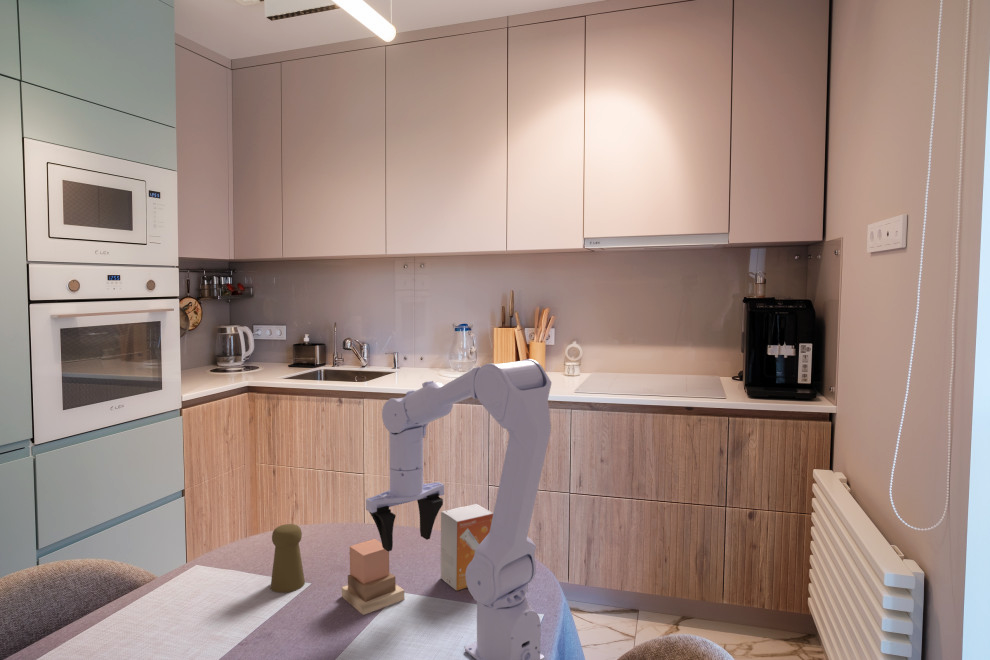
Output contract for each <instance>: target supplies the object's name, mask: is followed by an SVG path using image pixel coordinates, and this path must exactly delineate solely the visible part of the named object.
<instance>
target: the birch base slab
mask: <svg viewBox="0 0 990 660" xmlns="http://www.w3.org/2000/svg"><path fill="white" fill-rule="evenodd" d="M341 597H342V598H343V599H344V600H345V601H346V602H348V603H349V604H350V605H351V606H352V607H353V608H354V609H355V610H357V611H358V612H359V613H360V614H362V615H363V616H364V615H367V614H369V613H372V612H374V611H378V610H380V609H383V608H386V607H388V606H391V605H394V604H396V603H400V602H402V601H404V600H405V589H404V588H402V587H401V586H399V585H398V584H396V590H395V591H392V592H390V593H387V594H385V595H382V596H380V597H377V598H374V599H372V600H369V601H367V602H365V601H363V600H362V599H361V598H359V597H358V596H357V595H355V594H354V593H353V592H351V591H350V590H349V589H348V584H347V585H344V586H341Z"/></svg>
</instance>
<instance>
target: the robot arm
mask: <svg viewBox="0 0 990 660" xmlns="http://www.w3.org/2000/svg"><path fill="white" fill-rule="evenodd" d="M551 386H552V381H551V379H550V377H549V376H548V374H547V372H546V370H545V369H544V367H543V365H541V363H540V362H538V360H535V359H532V358H526V359H522V360H517V361H516V360H515V361H511V362H510V361H508V362H500V363H490V362H489V363H485V364H483V365H482V366H477V367H474V368H472V369H471V370H469V371H467V372H466V373H464V374H461V375H459V376H458V377H456V378H455V379H454V380H453V379H452V380H450V381H449V382H447V383H445V384H443V383H441V382H437V381H434V380H428V381H425V382H423V383H422V387H421V388H419V389H417V390H414V389H413V390H408V391H407V392H405V396H404V397H397V398H396V397H395V398H394V397H392V398H388V400H387V401H385V403H384V404H383V406H382V411H381V418H382V423H383V425H384V427H385V429H386V430H387V431H388V432H389V433H388V435H389V436H388V437H389V490H386V491H383V492H381V493H379V494H376V495H374V496H371V497H367V498H366V499H365V510H366V511H368V512H369V514H370V517H372V519H373V521H374V523H375V525H376V528H377V531H378V534H379V538H380V542H381V543H382V547H383V548H384V549H385V550H387V551H389V552H392V551H393V543H394V541H393V540H394V539H393V538H394V537H393V533H394V525H395V521H396V520H395V519H396V517H397V516H396V514H395V513H393V512H392V509H390V508H391V507H395V506H399V505H403V504H407V503H411V502H417V506H418V512H419V532H420V533H419V534H420V537H422V538H423V539H425V540H430V539H431V536H432V532H433V528H434V524H435V521H436V518H437V516H438V514H439V512H440V511H441V508H442V507H443V504H444V499H443V498H442V497H441V496H444V495H445V484H443V483H442V482H440V481H436V482H431V483H429V482H428V483H424V438H426V435H427V427H428V425H429V423H431V422H433V421H436V420H439V419H441V418H443V417H445V416H448V415H449V414H450V413H451V412H452V411H453V410H452V409H453V407H454V404H456V403H459V402H461V401H465V400H467V399H470V398H472V399H474V400H478V401H479V403H480V404H481V406H482V407H483V408H484V409H485V410H486V411H487V412H488V413H489V415H491V416H492V418H493V419H494V420H495V421H496V422H497V424H498V425H499V426H500V427H501V428H502V429H504V430H507V432H508V436H509V437H508V440H507V446H506V451H505V455H504V461H503V465H502V471H501V474H500V478H499V485H498V490H497V495H496V499H495V504H494V509H493V512H492V513H493V518H492V523H491V528H490V532H489V533H488V535H487V536H486V537H485V538H484V540H483V541H482V542H481V543H480V544H479V546H478V547H477V548H476V550H475V554H474V558H473V559H472V561H471V562H470V563H469V564H468V566H467V569H466V583H467V589H468V591H469V593H470V594H471V596H472V597H473V600H474V601H476V641H474V642H473V643H470V644H468V645H465V647H464V651H465V652H466V653H467V654H468V655H470V656H471V657H472V658H474V659H475V660H545V655H543V654H542V653H541V634H542V633H541V619H540V616H539V614H538V612H536V611H535V610H534V609H533V608H532V606H530V604H529V603H528V599H527V598H526V595H527V592H529V584H530V583H531V582H532V581H533V580H534V579H535V577H536V573H537V564H536V557H535V556H536V555H535V554H536V550H537V545H536V544H535V542H534V541H533V540H532V539H531V538H530V537H529V536H528V535H529V529H530V526H531V521H532V517H533V513H534V508H535V503H536V499H537V495H538V490H539V485H540V481H541V476H542V471H543V467H544V462H545V458H546V455H547V448H548V444H549V440H550V436H551V429H552V425H551V416H550V407H549V396H550V391H551Z"/></svg>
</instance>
